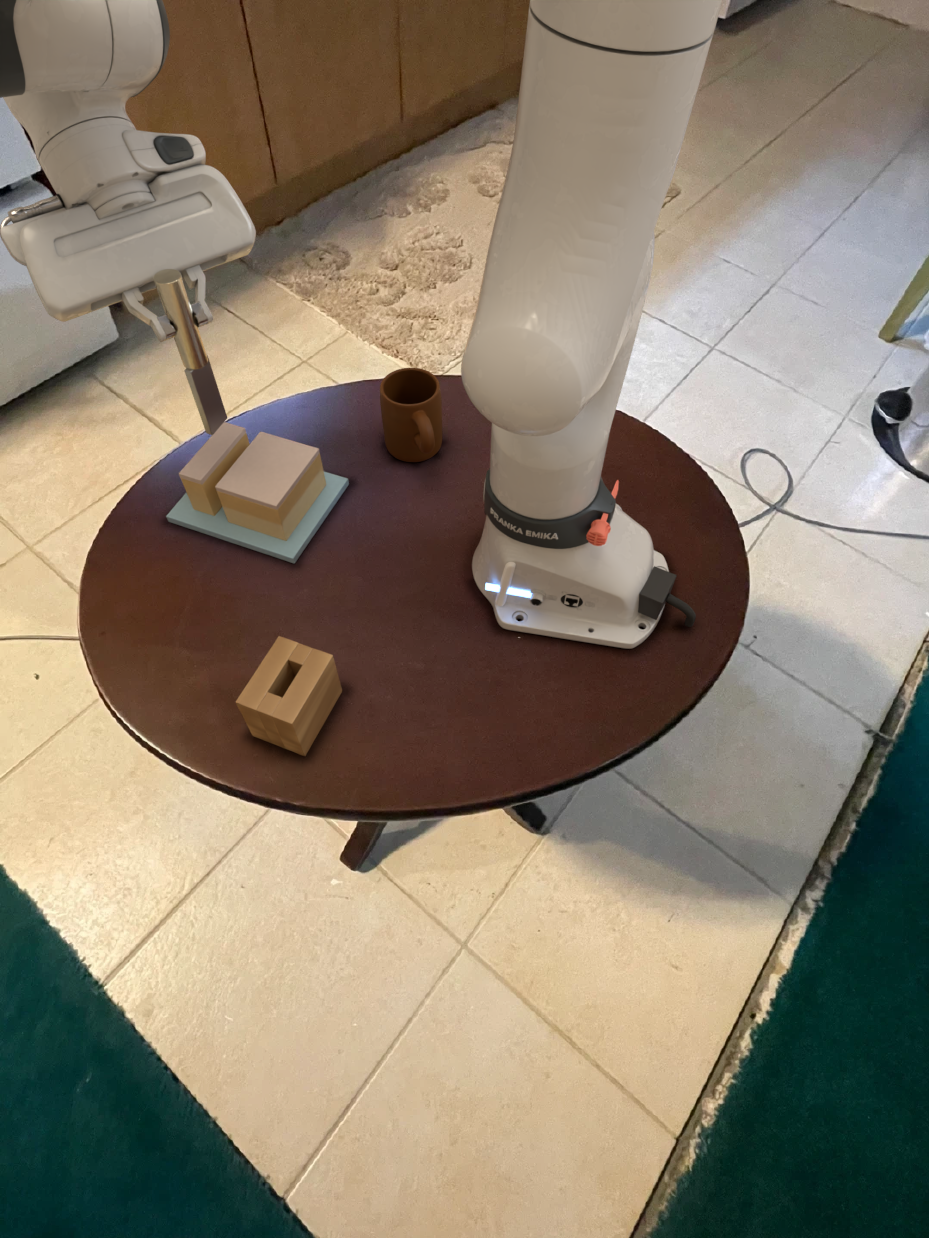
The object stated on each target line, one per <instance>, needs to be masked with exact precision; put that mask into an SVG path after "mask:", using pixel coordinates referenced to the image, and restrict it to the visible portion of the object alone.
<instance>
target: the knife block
mask: <svg viewBox="0 0 929 1238" xmlns="http://www.w3.org/2000/svg"><path fill="white" fill-rule="evenodd" d="M342 693H343V688H342V684H341V680H340V677H339V673H338V670H337V666H336V661H335V657H334V655H333V654H331V653H328V652H325V651H323V650H320V649H317V648H314V647H311V646H308V645H305V644H302V643H299V642H297V641H294V640H292V639H289V638H286V637H283V636H280V635H278V637H277V638H276V639H275V641H274V643H273V644H272V646H271V647H270V649H269V650H268V651H267V653H266V655H265V656H264V658H263V659H262V661H261V662H260V664H259V665H258V666H257V668H256V670H255V671H254V673H253V674H252V675H251V678H250V679H249V681H248V682H247V684H246V685H245V687H244V688H243V689H242V691H241V693H240V694H239V696H238V698H237V699H236V700H235V704H236V706H237V708H238V710H239V712H240V714H241V716H242V719H243V720H244V722H245V724H246V726H247V728H248V730H249V732H250V734H251V736H252V737H255V738H256V739H260V740H262V741H263V742H264V741H265V742H267V743H269V744H272V745H275V746H277V747H280V748H282V749H284V750H287V751H290V752H292V753H295V754H298V755H299V756H303V757H306V756H307V754H308V753H309V751H310V749H311V747H312V745H313V744H314V742H315V740H316V738H317V737H318V734H319V733H320V731H321V730H322V728H323V726H324V725H325V723H326V721H327V719H328V717H329V716H330V714H331V712H332V710H333V708H334V707H335V706H336V703H337V701H338V700H339V699H340V696H341V694H342Z"/></svg>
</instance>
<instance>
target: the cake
mask: <svg viewBox="0 0 929 1238" xmlns="http://www.w3.org/2000/svg"><path fill="white" fill-rule="evenodd" d="M249 443H250V445H249V446H248V447H247V448H246V450H245V451H244V452H243V453H242V454H241V456H240V457H239V458H238V459H237V460H236V462H235V463H234V464H233V465H232V467H231V468H230V469H229V470H228V471H227V473H226V474H225V475H224V476H223V477H222V479H221V480H220V481H219V482H218V484H217V485H216V486H215V488H216V490H217V493H218V496H219V499H220V501H221V504H222V507H221V509H220V510H219V511H218V512H217V514H216V515H215V516H212V515H209V514H206V513H203V512H200V511H197V510H194V509H193V507H192V504H191V502H190V499H189V497H188V495H187V492H186V491H185V493H184V494H183V495H182V496H181V498H180V499H179V500H178V501H177V502H176V504H175V505H174V506H173V507H172V508H171V509H170V511H169V512H168V513H167V514H166V515H165V519H166V520H167V522H169V523H172V524H174V525H178V526H181V527H183V528H186V529H188V530H192V531H196V532H198V533H201V534H204V535H207V536H210V537H213V538H215V539H219V540H222V541H224V542H228V543H231V544H234V545H236V546H240V547H243V548H246V549H249V550H253V551H255V552H258V553H261V554H264V555H267V556H270V557H273V558H276V559H279V560H282V561H285V562H287V563H291V564H296V563H297V561H298V559H299V558H300V557H301V555H302V554H303V552H304V550H305V549H306V548H307V546H308V545H309V544H310V542H311V540H312V539H313V537H314V536H315V534H316V533H317V532H318V530H319V529H320V527H321V526H322V525H323V523H324V521H325V520H326V518H327V517H328V516H329V514H330V513H331V511H332V510H333V508H334V507H335V506H336V504H337V502H338V501H339V500H340V498H341V497H342V495H344V492H345V491H346V489H347V488H348V486H349V485H350V483H349V482H350V481H349V478H347V477H344V476H340V475H337V474H335V473H331V472H328V471H325V470H324V466H323V461H322V456H321V453H320V448H319V447H315V446H311V445H309V444H304V443H301V442H298V441H294V440H291V439H289V438H285V437H281V436H277V435H274V434H271V433H268V432H264V431H259V433H258V434H257V435H256V436H255V437H254V438H253V440H252V441H251V442H249Z"/></svg>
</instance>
